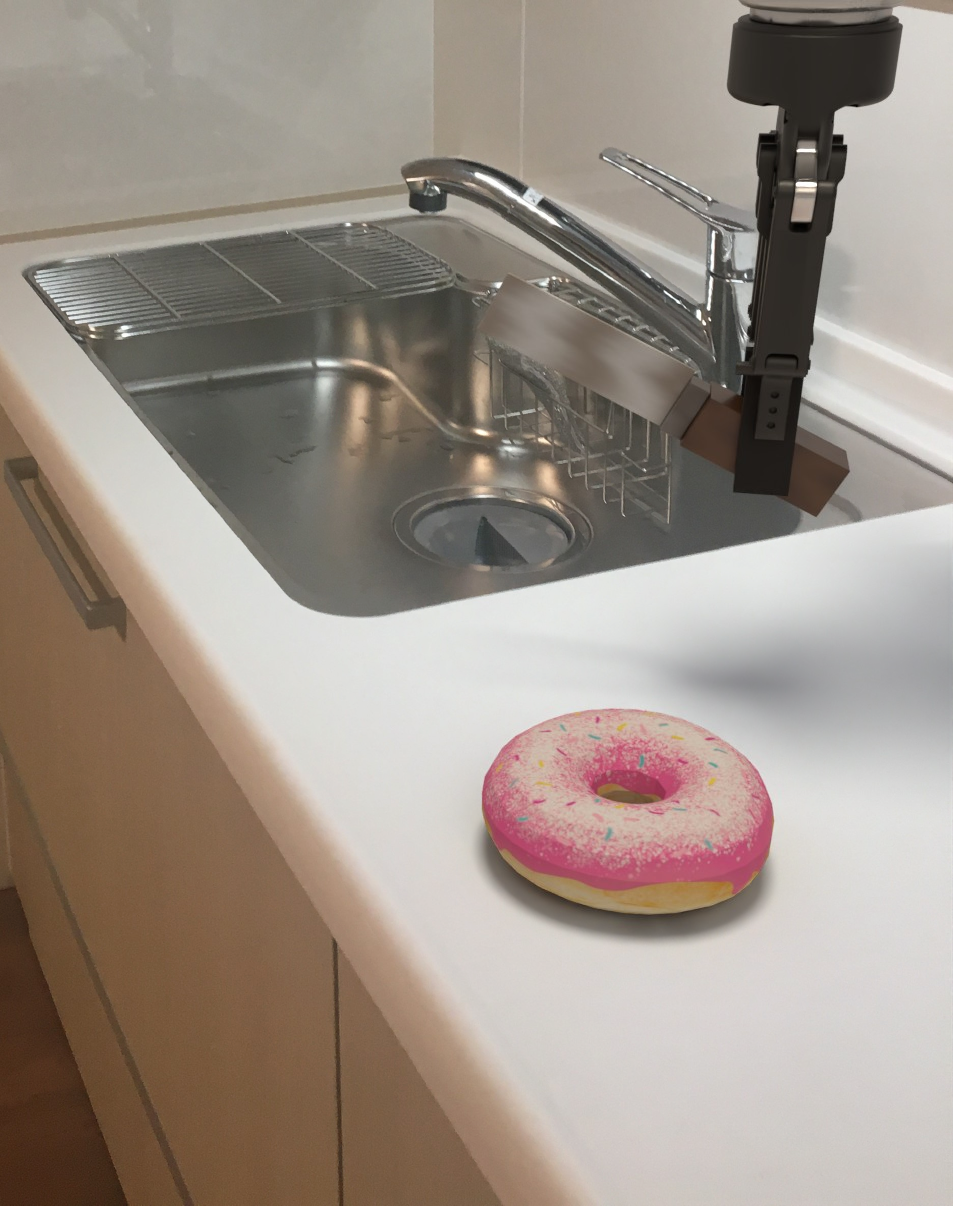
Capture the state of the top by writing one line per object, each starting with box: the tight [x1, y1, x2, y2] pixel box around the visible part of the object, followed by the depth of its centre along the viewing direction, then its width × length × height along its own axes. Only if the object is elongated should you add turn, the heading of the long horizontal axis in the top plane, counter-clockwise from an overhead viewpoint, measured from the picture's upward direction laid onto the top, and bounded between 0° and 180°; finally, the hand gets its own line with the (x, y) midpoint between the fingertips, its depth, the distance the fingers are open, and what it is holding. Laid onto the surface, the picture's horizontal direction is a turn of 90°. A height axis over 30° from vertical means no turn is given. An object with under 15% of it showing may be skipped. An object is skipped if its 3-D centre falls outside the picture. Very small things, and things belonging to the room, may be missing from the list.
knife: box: [476, 271, 851, 518], centre depth 87 cm, size 20×3×4 cm, turn 74°
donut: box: [481, 708, 775, 915], centre depth 78 cm, size 14×13×5 cm
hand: (759, 477), depth 87 cm, fingers closed on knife, 3 cm apart
